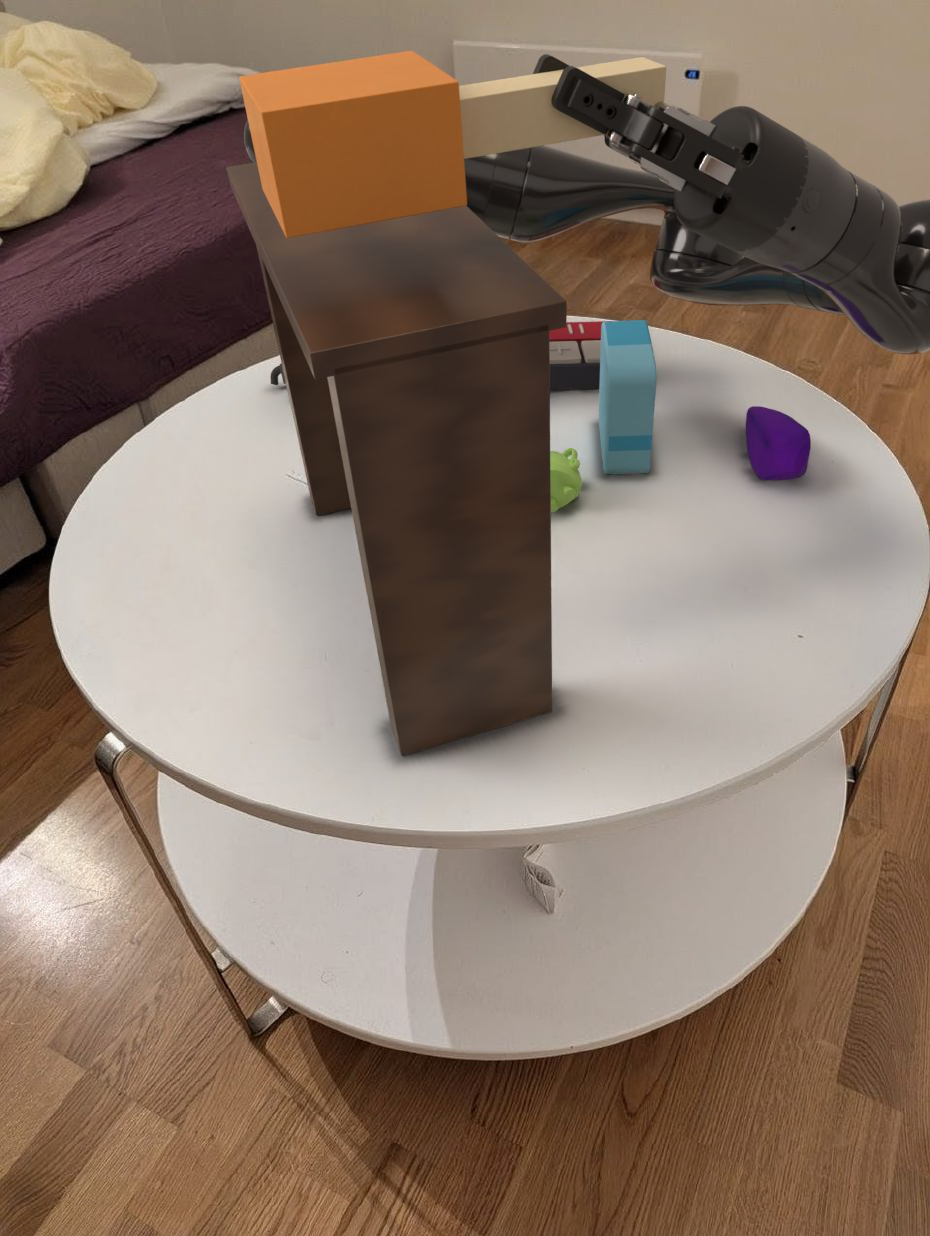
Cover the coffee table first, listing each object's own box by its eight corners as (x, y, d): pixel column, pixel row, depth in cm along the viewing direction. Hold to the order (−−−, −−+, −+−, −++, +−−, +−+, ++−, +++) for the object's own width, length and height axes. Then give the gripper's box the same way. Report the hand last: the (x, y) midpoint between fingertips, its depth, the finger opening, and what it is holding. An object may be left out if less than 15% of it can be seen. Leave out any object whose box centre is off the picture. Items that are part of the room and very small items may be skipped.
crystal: (776, 385, 97) (825, 446, 85) (770, 428, 100) (817, 493, 88) (730, 389, 97) (773, 450, 85) (726, 432, 100) (767, 497, 88)
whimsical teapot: (581, 486, 92) (582, 436, 89) (585, 517, 88) (586, 466, 85) (519, 489, 93) (517, 439, 89) (520, 520, 89) (519, 470, 85)
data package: (649, 479, 93) (657, 369, 85) (604, 480, 93) (608, 371, 85) (639, 418, 101) (646, 314, 94) (598, 420, 102) (601, 316, 94)
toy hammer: (618, 129, 59) (622, 18, 55) (685, 166, 52) (695, 44, 48) (262, 190, 55) (238, 76, 51) (286, 239, 48) (260, 112, 44)
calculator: (632, 357, 105) (500, 361, 104) (628, 392, 107) (500, 395, 107) (617, 317, 113) (495, 320, 113) (614, 350, 116) (495, 353, 115)
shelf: (432, 472, 96) (396, 139, 75) (564, 708, 70) (567, 301, 49) (301, 502, 94) (226, 166, 72) (388, 760, 68) (309, 353, 46)
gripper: (790, 288, 56) (563, 180, 48) (683, 218, 67) (480, 119, 58) (867, 164, 53) (635, 24, 44) (740, 111, 63) (532, -11, 55)
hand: (548, 79), depth 51 cm, fingers closed on toy hammer, 3 cm apart
